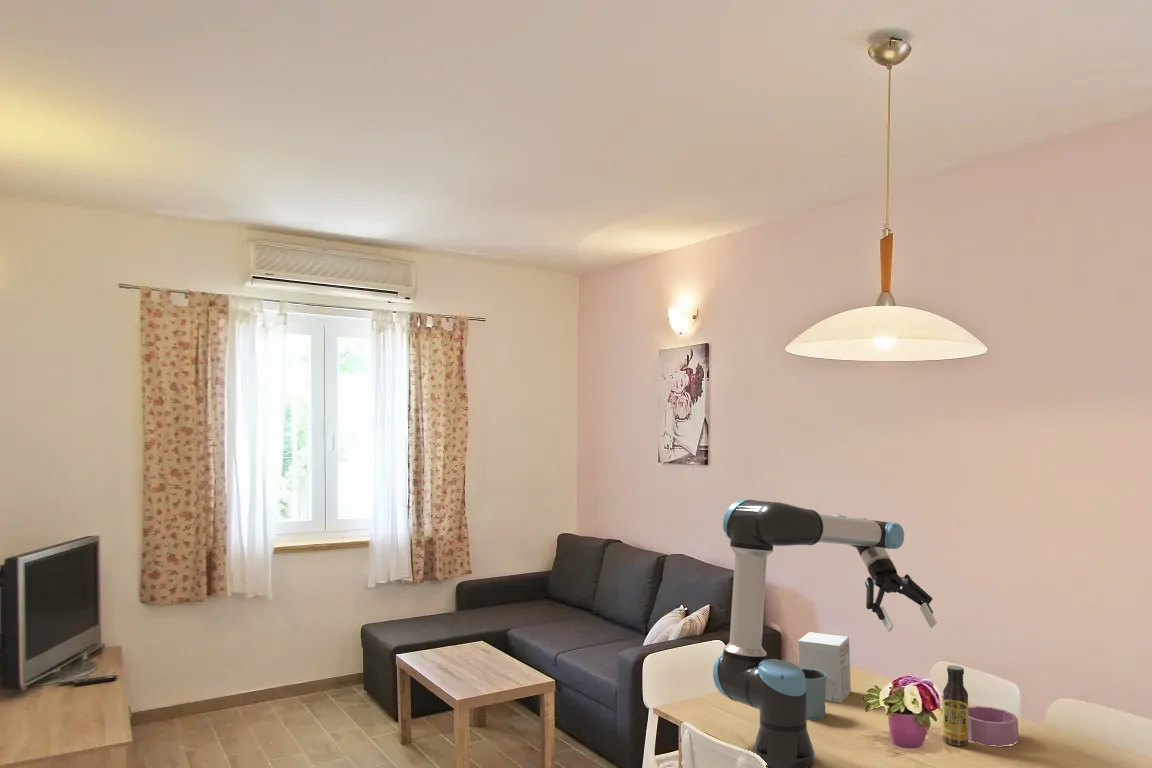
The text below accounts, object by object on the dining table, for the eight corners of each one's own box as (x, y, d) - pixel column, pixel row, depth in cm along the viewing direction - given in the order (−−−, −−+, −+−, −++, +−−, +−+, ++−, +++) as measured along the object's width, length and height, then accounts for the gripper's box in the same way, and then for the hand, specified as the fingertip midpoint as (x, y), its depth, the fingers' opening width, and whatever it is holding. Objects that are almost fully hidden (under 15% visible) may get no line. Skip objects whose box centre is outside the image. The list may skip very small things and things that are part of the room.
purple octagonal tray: (1022, 749, 208) (1021, 725, 208) (965, 743, 212) (964, 720, 212) (1012, 730, 220) (1011, 708, 221) (958, 725, 225) (957, 704, 225)
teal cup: (823, 709, 239) (822, 668, 240) (831, 721, 229) (829, 678, 230) (789, 708, 240) (788, 668, 241) (795, 720, 230) (794, 678, 231)
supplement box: (851, 691, 255) (850, 636, 257) (841, 703, 244) (839, 645, 245) (810, 685, 262) (808, 631, 264) (798, 696, 251) (797, 640, 252)
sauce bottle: (942, 744, 211) (939, 668, 212) (943, 736, 217) (940, 662, 218) (969, 749, 208) (966, 671, 209) (970, 741, 214) (967, 665, 215)
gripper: (911, 569, 245) (945, 630, 229) (837, 574, 240) (867, 637, 224) (921, 554, 240) (957, 616, 225) (845, 559, 235) (877, 623, 219)
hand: (912, 627), depth 224 cm, fingers open, 13 cm apart
